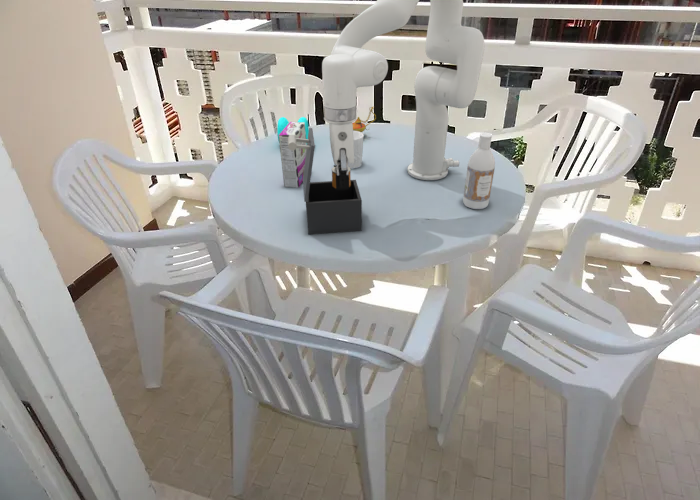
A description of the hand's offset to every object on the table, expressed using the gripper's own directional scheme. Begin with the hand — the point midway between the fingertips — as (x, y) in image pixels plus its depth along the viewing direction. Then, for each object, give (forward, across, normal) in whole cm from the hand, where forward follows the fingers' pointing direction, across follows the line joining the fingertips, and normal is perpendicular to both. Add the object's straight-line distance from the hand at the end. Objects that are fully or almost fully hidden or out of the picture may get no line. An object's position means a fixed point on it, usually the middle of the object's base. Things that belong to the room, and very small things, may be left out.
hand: (341, 183), depth 121 cm
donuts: (+11, +54, +11) cm, 56 cm away
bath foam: (+11, +4, -38) cm, 39 cm away
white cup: (+11, +35, -7) cm, 37 cm away
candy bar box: (+11, +26, +11) cm, 30 cm away
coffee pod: (0, 0, 0) cm, 0 cm away
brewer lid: (-6, 0, +8) cm, 9 cm away
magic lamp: (+11, +59, -10) cm, 61 cm away
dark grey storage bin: (+11, 0, +2) cm, 11 cm away
